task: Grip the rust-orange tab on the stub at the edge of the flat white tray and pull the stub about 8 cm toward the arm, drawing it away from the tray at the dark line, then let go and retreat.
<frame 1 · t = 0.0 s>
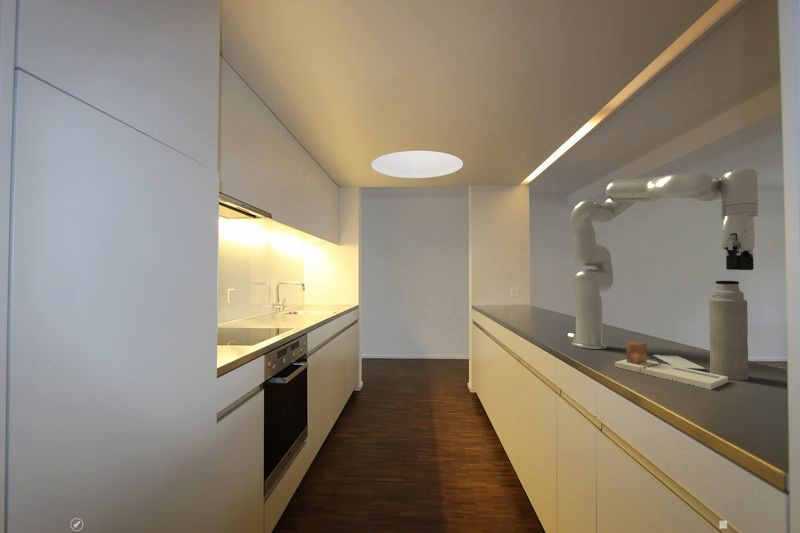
hand: (740, 269, 97), 31 cm above the table, fingers open, 9 cm apart
thermos bottle: (728, 376, 97), on the table
flat white tray: (682, 377, 95), on the table
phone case: (677, 366, 109), on the table
stub: (636, 355, 105), point 4 cm above the table, slide at 0.0 cm
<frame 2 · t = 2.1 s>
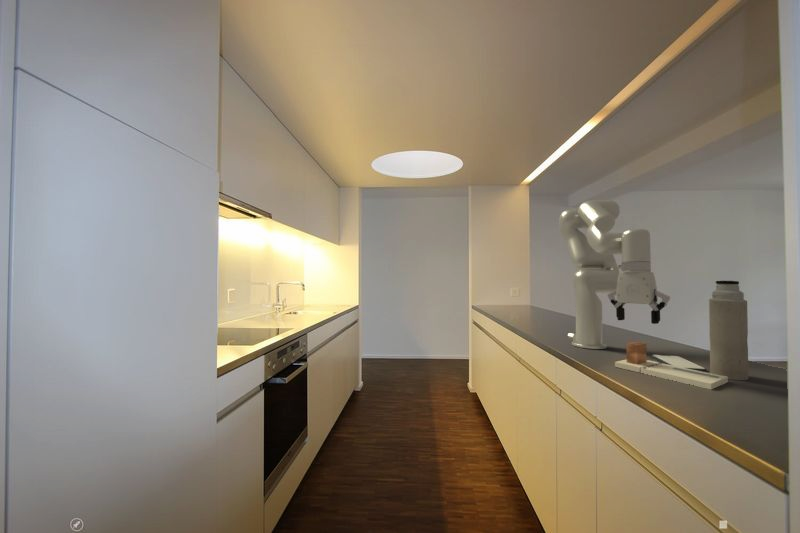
hand: (637, 321, 105), 15 cm above the table, fingers open, 9 cm apart
nothing on the table moved.
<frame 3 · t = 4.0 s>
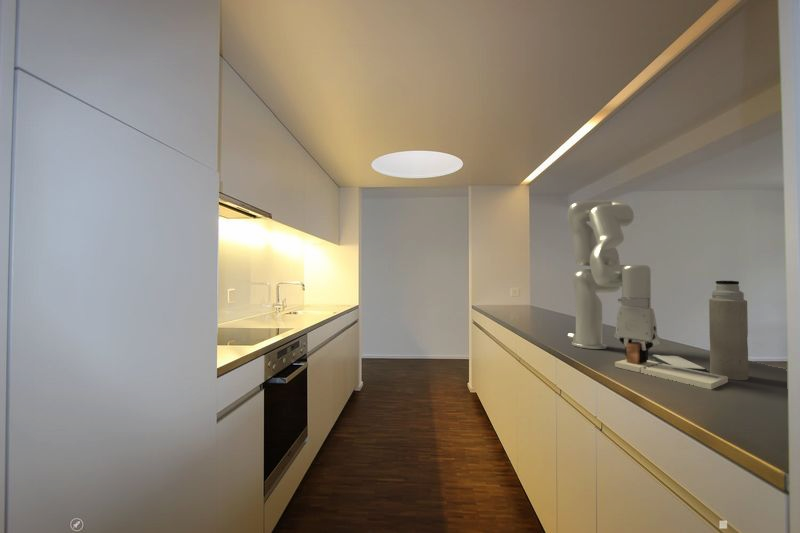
hand: (636, 360, 105), 2 cm above the table, fingers closed on stub, 3 cm apart
stub: (636, 355, 105), point 4 cm above the table, slide at 0.0 cm, touching gripper
everything else where it was.
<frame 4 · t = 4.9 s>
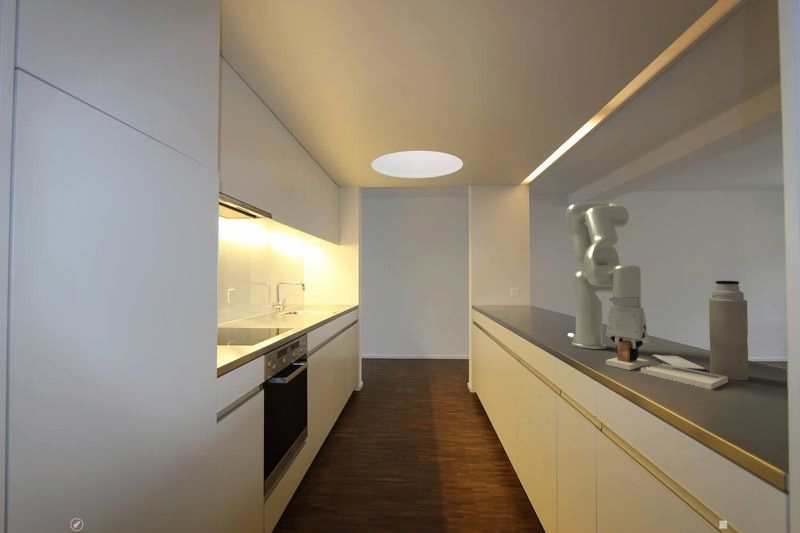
hand: (627, 358, 108), 2 cm above the table, fingers closed on stub, 3 cm apart
stub: (627, 353, 108), point 4 cm above the table, slide at 2.8 cm, touching gripper
everything else where it was.
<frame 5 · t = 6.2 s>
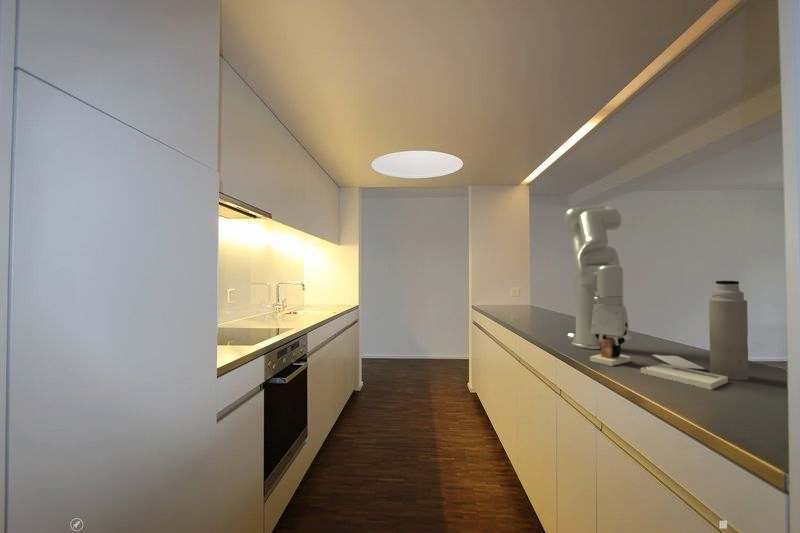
hand: (610, 354, 112), 2 cm above the table, fingers closed on stub, 3 cm apart
stub: (610, 349, 112), point 4 cm above the table, slide at 8.0 cm, touching gripper
everything else where it was.
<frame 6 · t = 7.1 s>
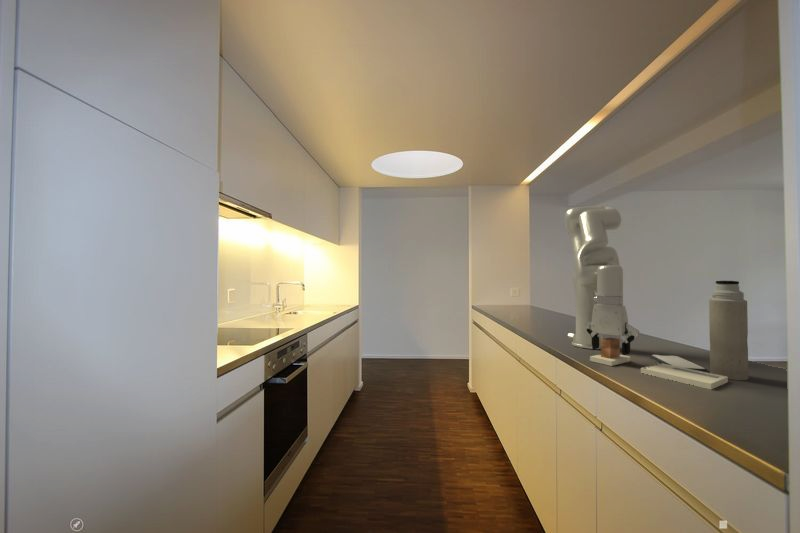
hand: (610, 351, 112), 3 cm above the table, fingers open, 9 cm apart
stub: (610, 349, 112), point 4 cm above the table, slide at 8.0 cm
everything else where it was.
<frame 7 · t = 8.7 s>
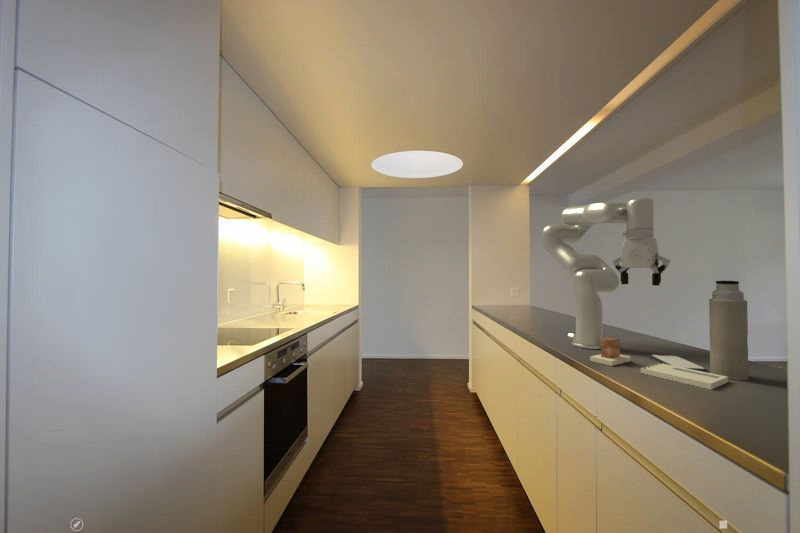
hand: (639, 284, 113), 26 cm above the table, fingers open, 9 cm apart
nothing on the table moved.
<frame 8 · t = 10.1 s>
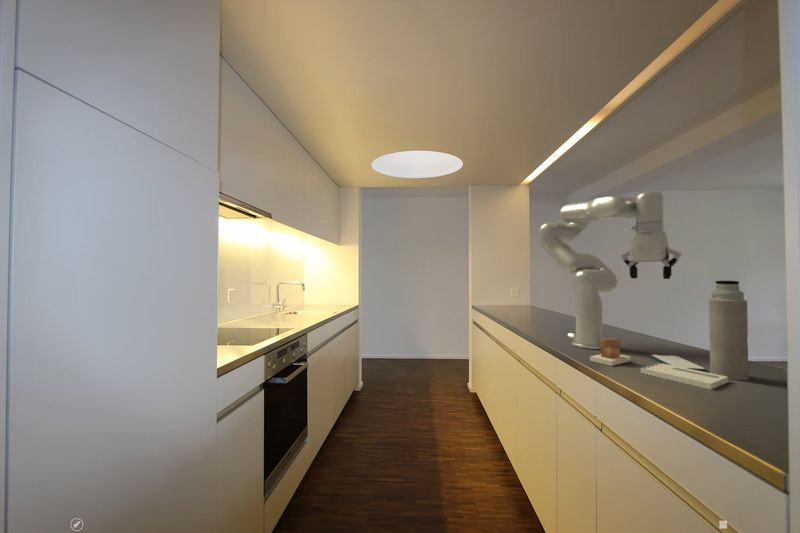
hand: (649, 278, 113), 28 cm above the table, fingers open, 9 cm apart
nothing on the table moved.
at the end: stub slide at 8.0 cm; the gripper is holding nothing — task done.
